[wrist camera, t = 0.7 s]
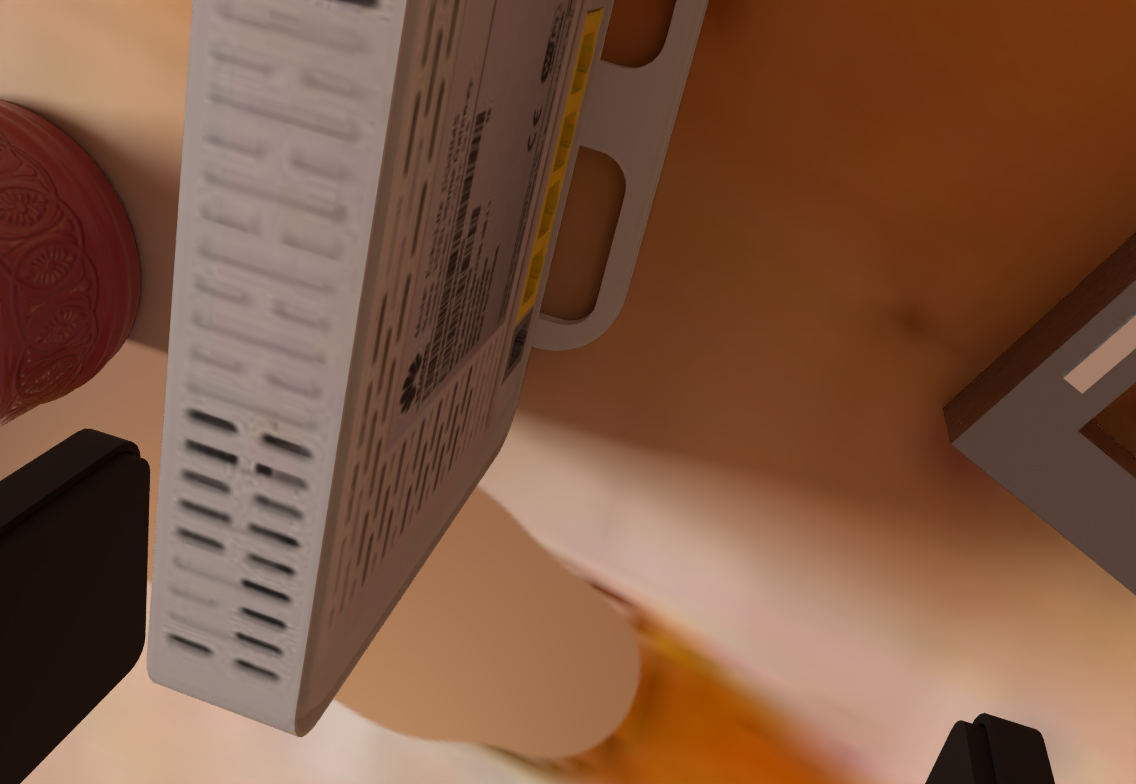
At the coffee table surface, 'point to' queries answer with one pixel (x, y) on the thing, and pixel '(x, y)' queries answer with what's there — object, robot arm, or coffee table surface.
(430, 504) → the network device
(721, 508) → the coffee table surface
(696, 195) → the coffee table surface
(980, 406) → the panel
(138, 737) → the coffee table surface
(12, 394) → the canister
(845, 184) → the coffee table surface
